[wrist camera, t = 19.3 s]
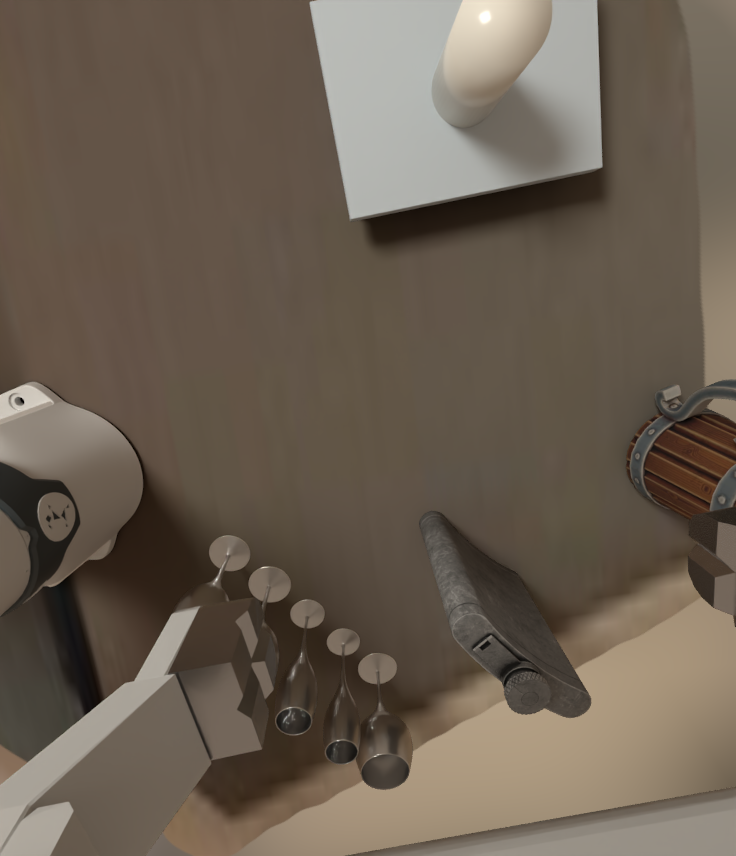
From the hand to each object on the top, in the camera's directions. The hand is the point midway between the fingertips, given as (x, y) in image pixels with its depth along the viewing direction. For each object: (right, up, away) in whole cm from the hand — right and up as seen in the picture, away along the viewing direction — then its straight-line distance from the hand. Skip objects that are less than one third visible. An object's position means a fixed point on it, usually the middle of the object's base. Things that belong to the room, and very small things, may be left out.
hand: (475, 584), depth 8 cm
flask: (+9, -11, +41) cm, 43 cm away
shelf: (+5, +29, +28) cm, 41 cm away
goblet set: (-9, -18, +42) cm, 47 cm away
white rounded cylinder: (+5, +28, +24) cm, 37 cm away
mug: (+29, +3, +37) cm, 47 cm away
